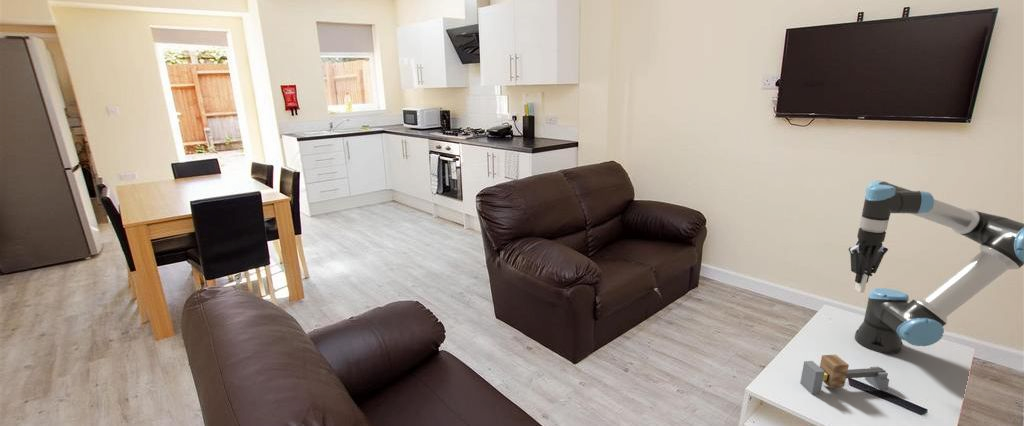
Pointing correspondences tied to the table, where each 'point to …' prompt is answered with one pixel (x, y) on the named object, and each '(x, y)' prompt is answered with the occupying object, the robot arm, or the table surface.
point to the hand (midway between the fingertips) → (859, 290)
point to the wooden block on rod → (834, 370)
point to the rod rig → (873, 375)
